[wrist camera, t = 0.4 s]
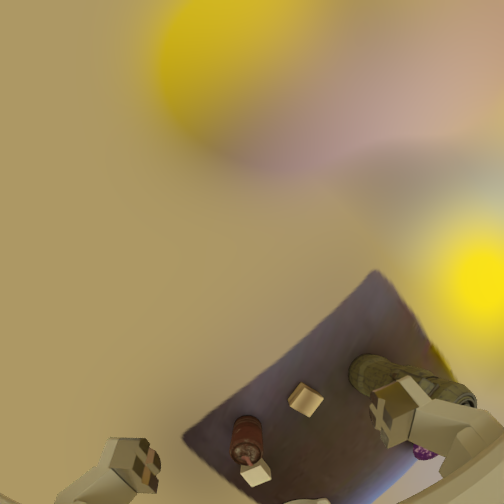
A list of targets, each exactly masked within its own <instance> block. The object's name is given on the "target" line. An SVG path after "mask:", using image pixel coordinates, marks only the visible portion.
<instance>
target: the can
mask: <svg viewBox="0 0 504 504" xmlns="http://www.w3.org/2000/svg"><path fill="white" fill-rule="evenodd" d="M229 453H230V456H231V458H232V459H233V460H234V461H235V462H236V463H238V464H240V465H244V466H253V465H254V464H255V463H257V462H258V461H259V460H260V459H261V458H262V456H263V439H262V426H261V423H260V421H259V420H258V419H256V418H255V417H252V416H242V417H240V418H239V419H237V420H236V422H235V424H234V428H233V433H232V439H231V444H230V450H229Z"/></svg>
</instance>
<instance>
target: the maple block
mask: <svg viewBox="0 0 504 504" xmlns="http://www.w3.org/2000/svg"><path fill="white" fill-rule="evenodd" d="M323 399H324V398H323V397H322V396H321V395H320V393H319V392H317V391H315V390H314V389H312V388H310V387H309V386H307V385H305V384H304V383H302V382H300V384H299V385H298V386H297V388H296V389H295V390H294V392H293V393H292V394H291V396H290V397H289V398H288V399H287V400H288V402H289V405H290V407H292V408H294V409H295V410H297V411H299V412H301V413H302V414H304V415H306V416H308V417H310V416H311V415H312V414H313V412H314V411H315V410H316V408H317V407H318V406H319V405H320V403H321V402H322V401H323Z"/></svg>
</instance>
